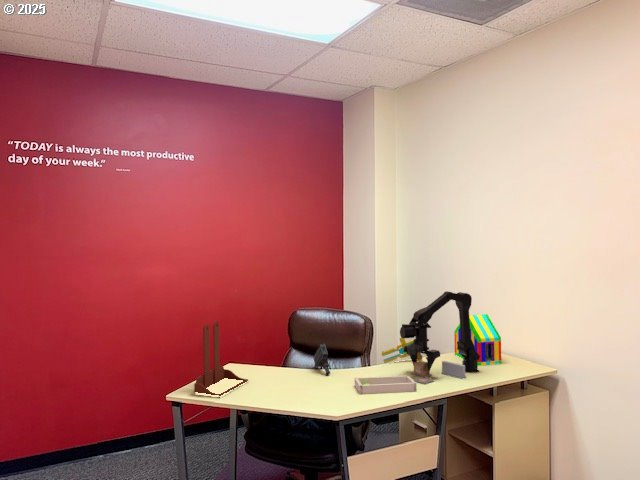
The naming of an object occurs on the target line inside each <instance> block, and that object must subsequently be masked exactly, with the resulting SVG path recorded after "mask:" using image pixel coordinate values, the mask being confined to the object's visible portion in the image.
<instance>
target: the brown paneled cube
mask: <svg viewBox="0 0 640 480" xmlns="http://www.w3.org/2000/svg"><path fill="white" fill-rule="evenodd" d="M413 373H414V374H417V375H420V376H425V375H428V374H431V370H430V371H428V367H427V361H423V360H420V361H417V362H414V366H413Z"/></svg>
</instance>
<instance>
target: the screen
mask: <svg viewBox="0 0 640 480" xmlns="http://www.w3.org/2000/svg"><path fill="white" fill-rule="evenodd" d="M441 375H446V376H450V377H454V378H457V379H461V380H463V379H466V378H467V376H466V371H465V365H462V363H461V364H460V363H457V362H451V361H447V360H441Z"/></svg>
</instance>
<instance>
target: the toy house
mask: <svg viewBox="0 0 640 480" xmlns="http://www.w3.org/2000/svg"><path fill="white" fill-rule="evenodd" d="M469 319H470V334H471V340H472V342H473V344H474V347H475V351H476V352H477V353H478V354H479V355H480V358H479V360H477V363H478V366H479V367H480V365H482V366H490V365H489V364H493V365H498V364H497V363H501V364H502V337H501V335H500V333H499V332H498V330H497V328H496V327H495V325H494V323H493V322H492V319H490V317H489V315H488V313H487V314H486V313H484V314H483V313H482V314H480V313H479V314H469ZM460 339H461V332H460V323H459V324H458V326H457V327H456V328H455V329H454V355H455V356H456V355H457V357H458V356H459V358H460V357H461V359H463V358H464V357H462V356H461V353H460V352H459V351H458V349H457V341H460Z"/></svg>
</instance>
